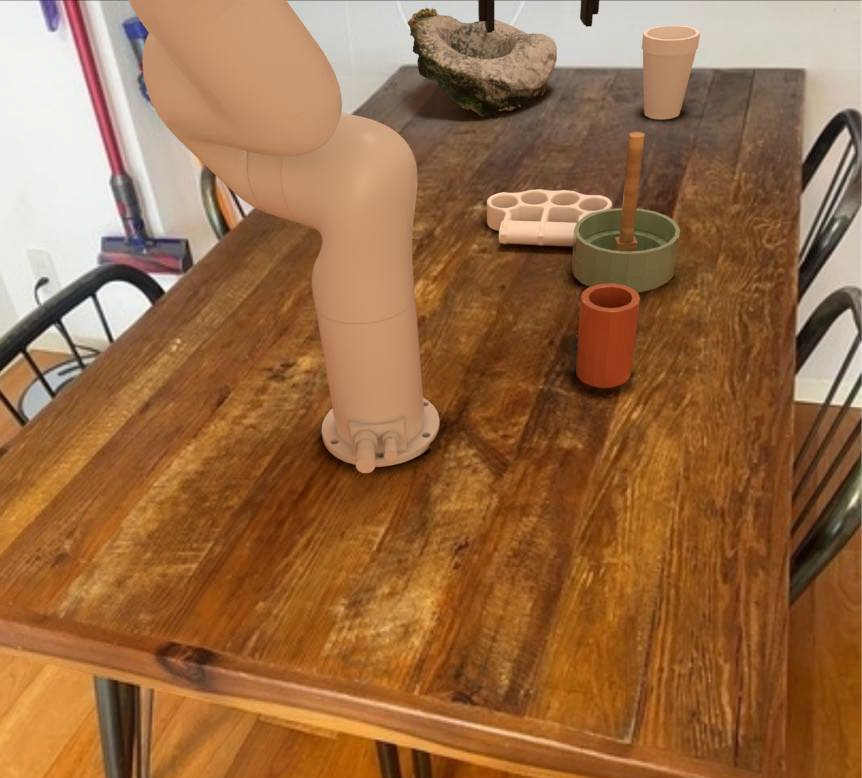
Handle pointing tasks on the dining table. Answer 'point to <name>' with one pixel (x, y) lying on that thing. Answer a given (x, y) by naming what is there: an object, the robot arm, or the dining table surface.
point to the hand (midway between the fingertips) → (537, 26)
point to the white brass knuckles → (541, 215)
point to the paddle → (630, 194)
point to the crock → (607, 334)
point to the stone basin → (482, 61)
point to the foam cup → (667, 68)
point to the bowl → (633, 268)
